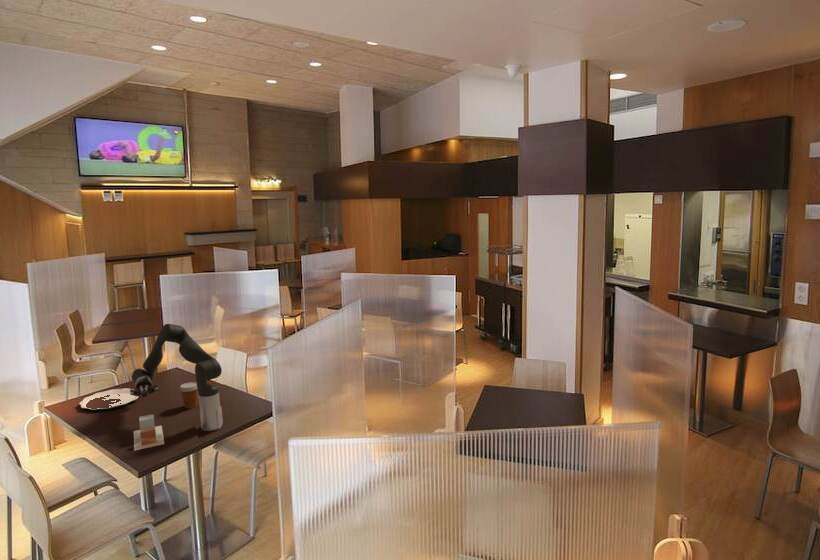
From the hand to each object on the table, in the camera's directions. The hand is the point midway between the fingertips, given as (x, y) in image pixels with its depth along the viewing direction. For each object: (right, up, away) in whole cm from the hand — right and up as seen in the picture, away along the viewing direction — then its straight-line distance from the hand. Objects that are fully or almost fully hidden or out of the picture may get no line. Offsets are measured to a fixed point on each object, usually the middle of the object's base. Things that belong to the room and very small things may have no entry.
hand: (144, 395), depth 249 cm
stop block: (+11, -17, -18) cm, 27 cm away
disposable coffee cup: (+11, -12, +27) cm, 32 cm away
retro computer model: (+7, -16, -11) cm, 21 cm away
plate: (-37, -12, +35) cm, 52 cm away
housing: (+8, -18, -12) cm, 23 cm away
